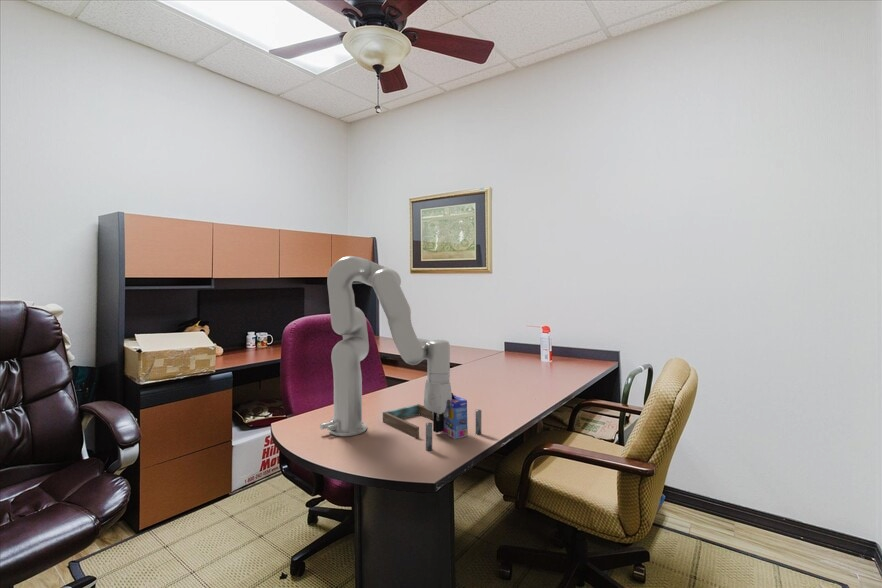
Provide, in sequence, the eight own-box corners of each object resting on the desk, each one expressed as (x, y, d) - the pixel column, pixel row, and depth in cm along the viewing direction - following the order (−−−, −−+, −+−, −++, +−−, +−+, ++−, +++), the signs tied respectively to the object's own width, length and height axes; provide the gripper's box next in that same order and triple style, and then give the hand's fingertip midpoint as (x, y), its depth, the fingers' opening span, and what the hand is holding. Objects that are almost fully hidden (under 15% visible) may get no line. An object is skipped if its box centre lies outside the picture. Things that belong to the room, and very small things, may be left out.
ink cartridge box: (437, 430, 144) (437, 389, 144) (450, 427, 147) (450, 386, 147) (454, 439, 136) (455, 395, 136) (468, 436, 139) (468, 392, 139)
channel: (416, 438, 137) (416, 427, 137) (382, 421, 154) (382, 412, 154) (453, 427, 148) (453, 417, 148) (418, 413, 164) (418, 404, 164)
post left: (428, 451, 127) (428, 425, 126) (424, 449, 128) (424, 423, 128) (433, 449, 128) (433, 423, 128) (429, 447, 130) (429, 422, 129)
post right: (478, 435, 140) (478, 411, 140) (474, 433, 141) (474, 410, 141) (482, 434, 141) (482, 410, 141) (478, 432, 143) (478, 409, 143)
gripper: (416, 374, 144) (416, 427, 145) (444, 383, 132) (443, 440, 133) (433, 371, 149) (433, 423, 149) (461, 379, 137) (461, 435, 138)
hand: (438, 431), depth 141 cm, fingers closed
